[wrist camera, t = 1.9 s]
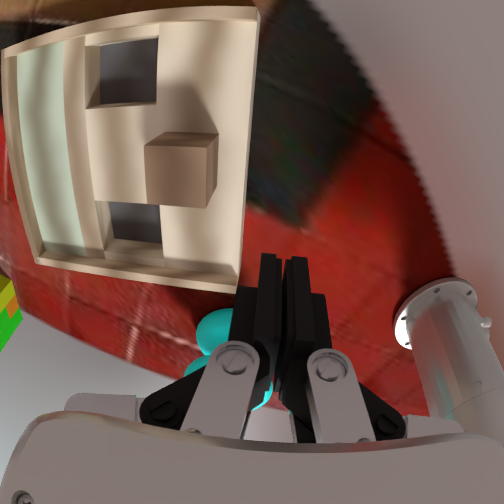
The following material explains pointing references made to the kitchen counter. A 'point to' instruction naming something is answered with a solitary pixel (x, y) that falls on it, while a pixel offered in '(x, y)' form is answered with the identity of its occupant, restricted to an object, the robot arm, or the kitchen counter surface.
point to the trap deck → (132, 141)
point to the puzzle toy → (8, 310)
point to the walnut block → (181, 169)
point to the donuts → (215, 340)
